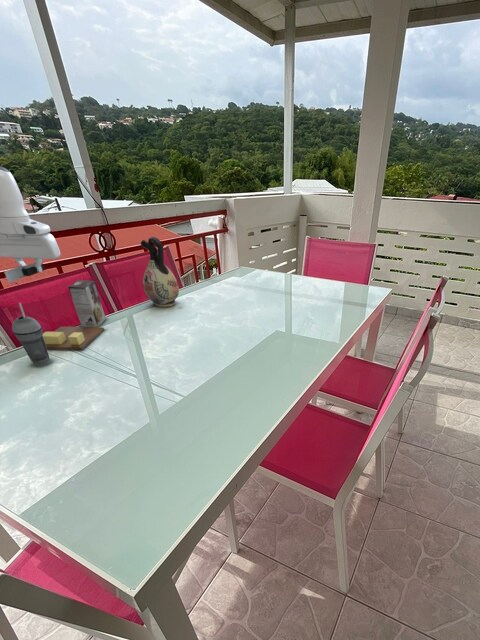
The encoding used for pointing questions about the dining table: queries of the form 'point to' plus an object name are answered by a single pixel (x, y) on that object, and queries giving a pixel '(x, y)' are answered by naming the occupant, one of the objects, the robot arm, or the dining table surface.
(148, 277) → the ceramic jug
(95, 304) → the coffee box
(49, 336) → the butter block
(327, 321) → the dining table surface
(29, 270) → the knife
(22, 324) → the beverage cup
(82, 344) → the cutting board
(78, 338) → the butter slice
